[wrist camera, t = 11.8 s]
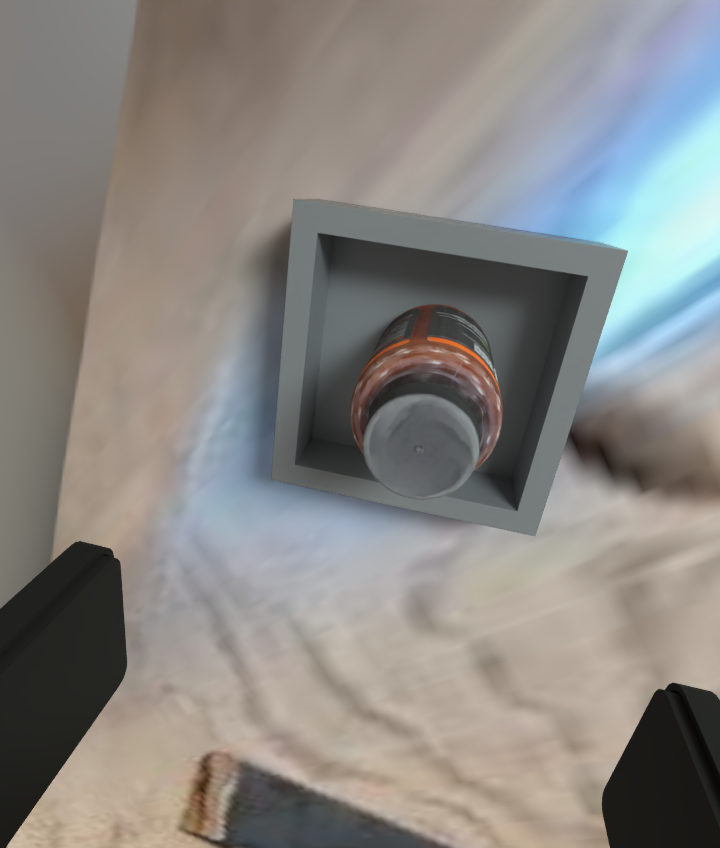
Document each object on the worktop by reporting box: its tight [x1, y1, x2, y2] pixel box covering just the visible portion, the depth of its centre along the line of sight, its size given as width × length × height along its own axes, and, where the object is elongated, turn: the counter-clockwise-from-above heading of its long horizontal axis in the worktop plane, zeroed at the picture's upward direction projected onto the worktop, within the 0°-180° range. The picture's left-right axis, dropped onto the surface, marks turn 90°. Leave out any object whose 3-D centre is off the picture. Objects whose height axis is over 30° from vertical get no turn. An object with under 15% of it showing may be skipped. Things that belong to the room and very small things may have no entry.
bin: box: [271, 199, 628, 536], centre depth 27 cm, size 14×14×4 cm
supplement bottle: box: [350, 304, 503, 500], centre depth 23 cm, size 6×6×11 cm
